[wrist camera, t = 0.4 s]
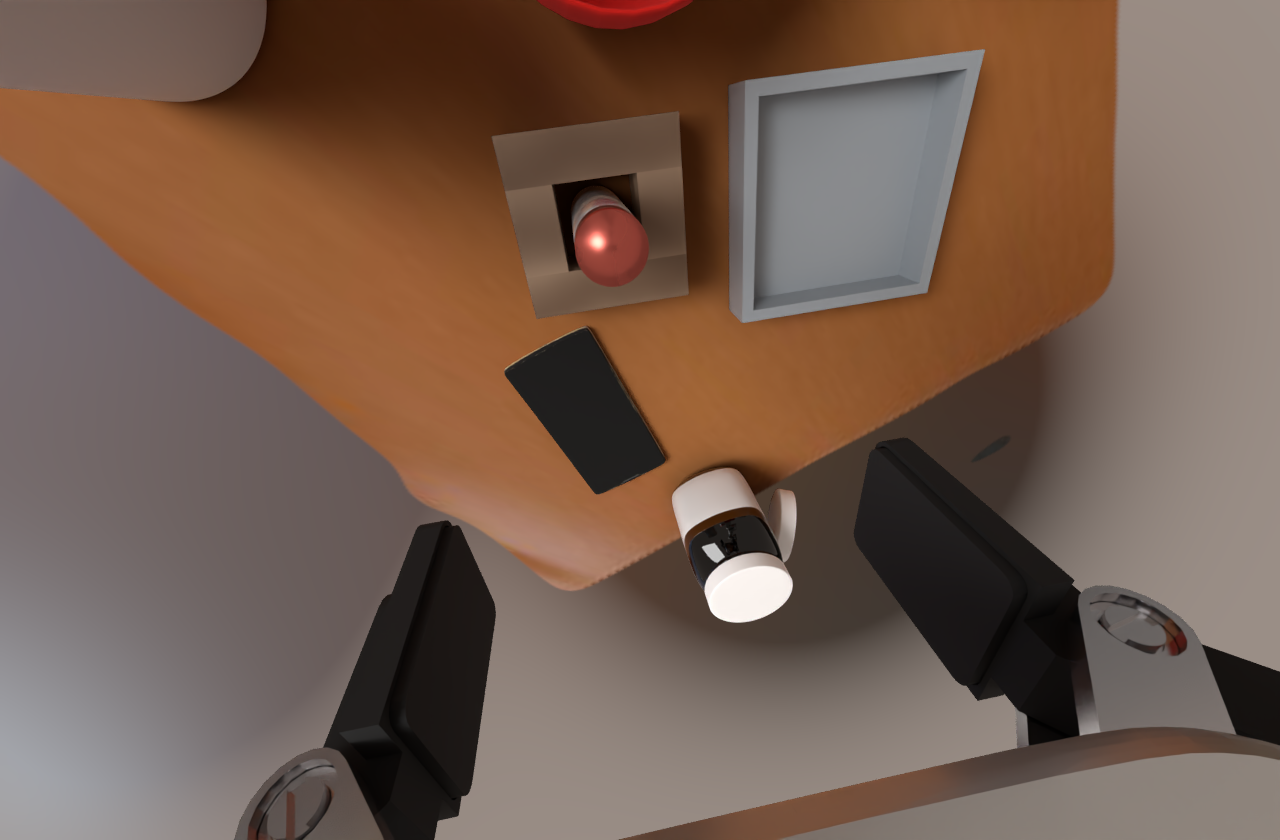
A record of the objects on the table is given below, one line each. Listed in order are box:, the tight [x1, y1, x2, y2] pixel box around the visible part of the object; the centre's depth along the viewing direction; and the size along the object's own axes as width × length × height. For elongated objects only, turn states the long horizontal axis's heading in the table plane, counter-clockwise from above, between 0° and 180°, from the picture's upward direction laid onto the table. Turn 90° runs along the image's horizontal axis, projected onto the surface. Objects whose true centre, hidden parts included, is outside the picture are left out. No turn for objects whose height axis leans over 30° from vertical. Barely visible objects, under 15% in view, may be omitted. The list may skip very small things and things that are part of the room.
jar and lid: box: [672, 467, 796, 622], centre depth 41 cm, size 12×11×12 cm
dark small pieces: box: [504, 326, 665, 494], centre depth 38 cm, size 7×1×15 cm
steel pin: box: [571, 186, 649, 287], centre depth 25 cm, size 3×3×11 cm
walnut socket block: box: [491, 111, 689, 319], centre depth 28 cm, size 10×10×4 cm
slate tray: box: [728, 49, 985, 323], centre depth 30 cm, size 14×14×3 cm
